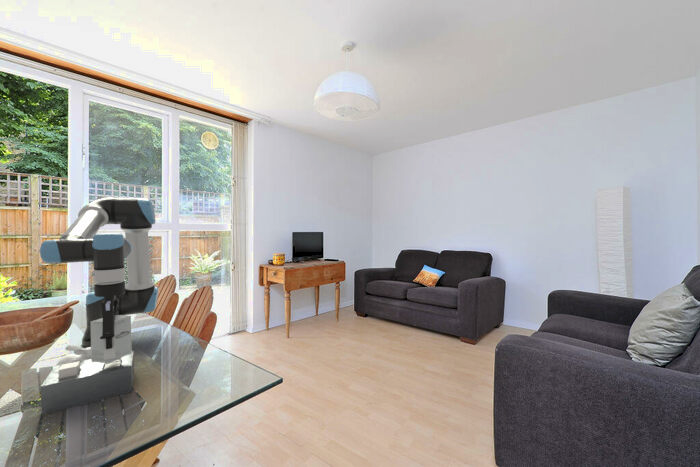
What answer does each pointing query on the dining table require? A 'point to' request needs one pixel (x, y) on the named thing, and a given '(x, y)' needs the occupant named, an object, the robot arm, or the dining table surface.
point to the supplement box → (121, 338)
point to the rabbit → (76, 354)
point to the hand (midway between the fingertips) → (112, 352)
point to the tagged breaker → (112, 364)
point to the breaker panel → (87, 384)
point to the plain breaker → (69, 369)
